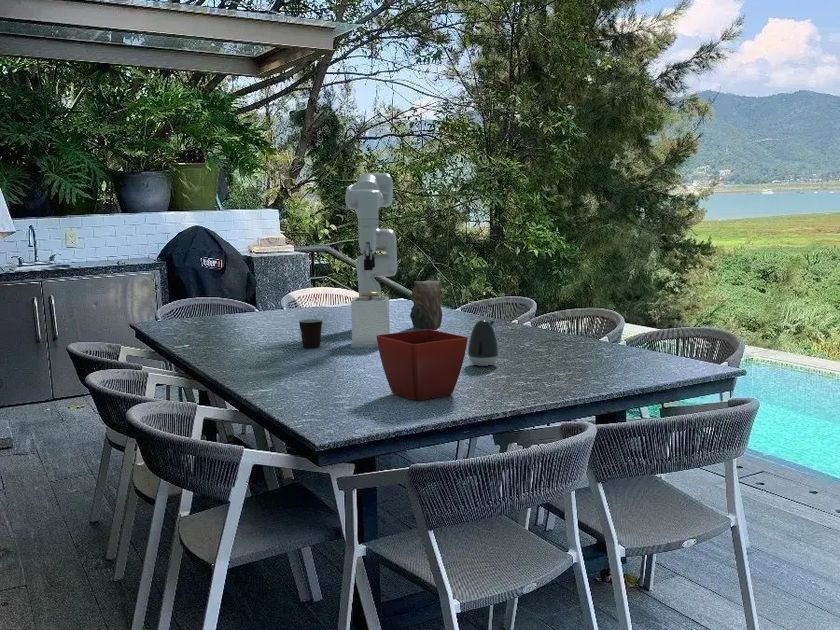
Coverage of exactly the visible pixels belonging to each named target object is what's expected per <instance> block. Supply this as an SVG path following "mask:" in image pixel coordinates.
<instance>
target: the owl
mask: <svg viewBox="0 0 840 630" xmlns="http://www.w3.org/2000/svg"><path fill="white" fill-rule="evenodd" d="M413 285H414V286H413V287H412V288H413V289H411V290H412V291H411V294H410V296H411V301H412V303H413V306H412V307H411V312H410V314H409V317H410V319H411V323H412V328H413V329H418V330H428V329H430V330H436V331H438V329H439V328H440V327H441V326H442V325H441V324H442V322H443V321H442V320H443V311H442V307H441V306H442V301H443V289H442V286H443V283H442V280H430V279H428V280H425V281H419V280H417V281H416V280H414V281H413Z"/></svg>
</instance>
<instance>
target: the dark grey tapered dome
mask: <svg viewBox="0 0 840 630" xmlns="http://www.w3.org/2000/svg"><path fill="white" fill-rule="evenodd" d="M494 324H495V321H494V320H491V321H488V320H485V319H482V320H478V321H477V322H476V323H475V324H474V326H473V328H472V331H471V333H470V337H469V341H468V347H467V355H468V358H469V361H470V362H471V364H472V365H474V366H475V365H478V366H487V365H491V366H493V365H495V363H496V362H497V360H498V357H499V355H500V354H499V353H500V351H499V344H498V340H497V336H496V331H495V330H494V327H493V325H494ZM478 366H477V367H478Z"/></svg>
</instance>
